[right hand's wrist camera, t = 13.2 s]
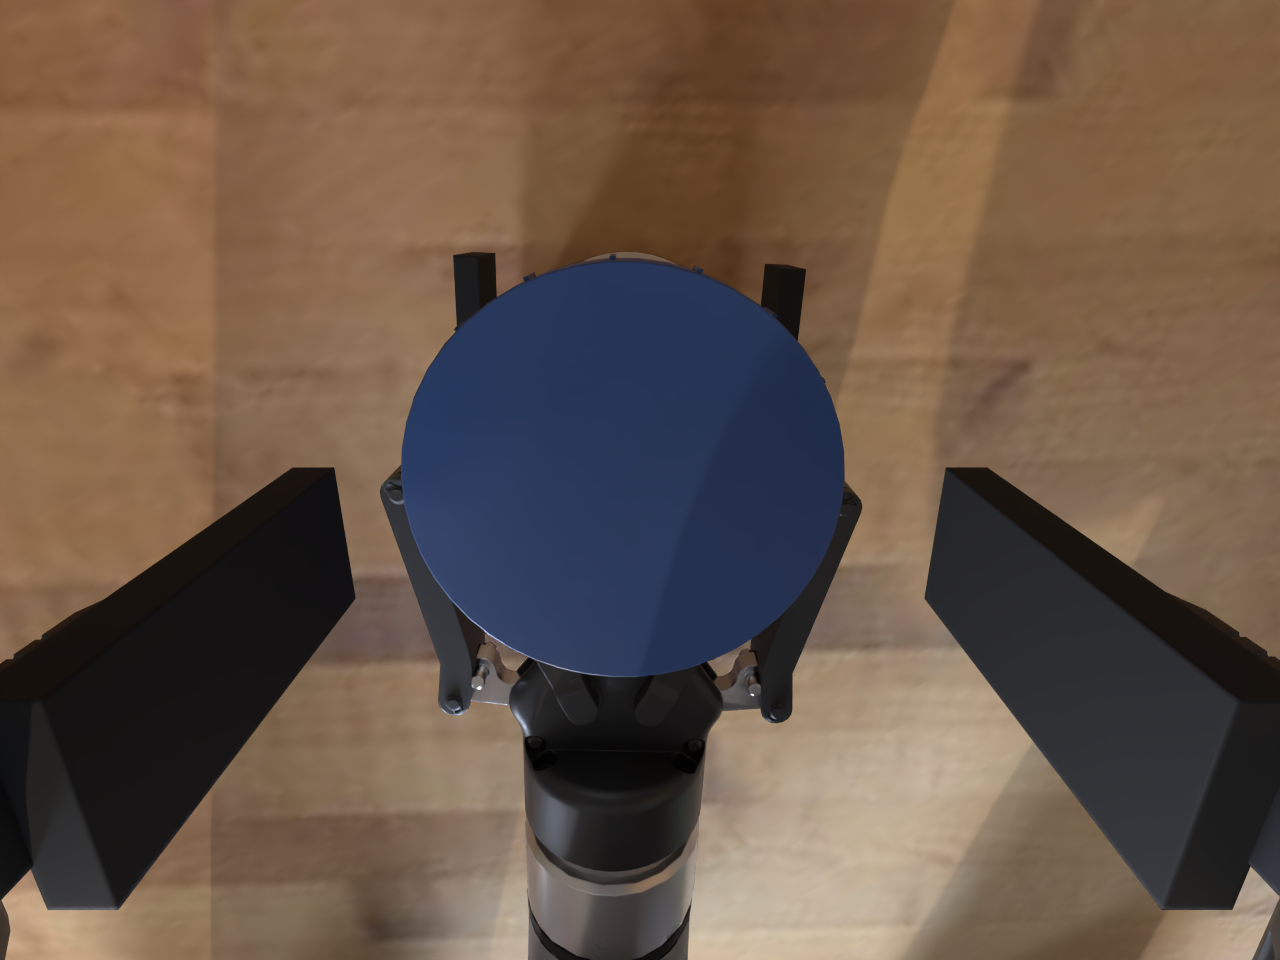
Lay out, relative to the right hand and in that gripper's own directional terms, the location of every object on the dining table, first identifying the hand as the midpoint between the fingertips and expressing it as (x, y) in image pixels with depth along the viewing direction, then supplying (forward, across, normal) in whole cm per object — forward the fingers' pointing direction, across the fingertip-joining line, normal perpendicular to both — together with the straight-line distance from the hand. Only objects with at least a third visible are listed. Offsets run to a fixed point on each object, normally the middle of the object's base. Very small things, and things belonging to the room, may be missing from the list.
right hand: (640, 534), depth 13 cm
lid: (+3, 0, 0) cm, 3 cm away
